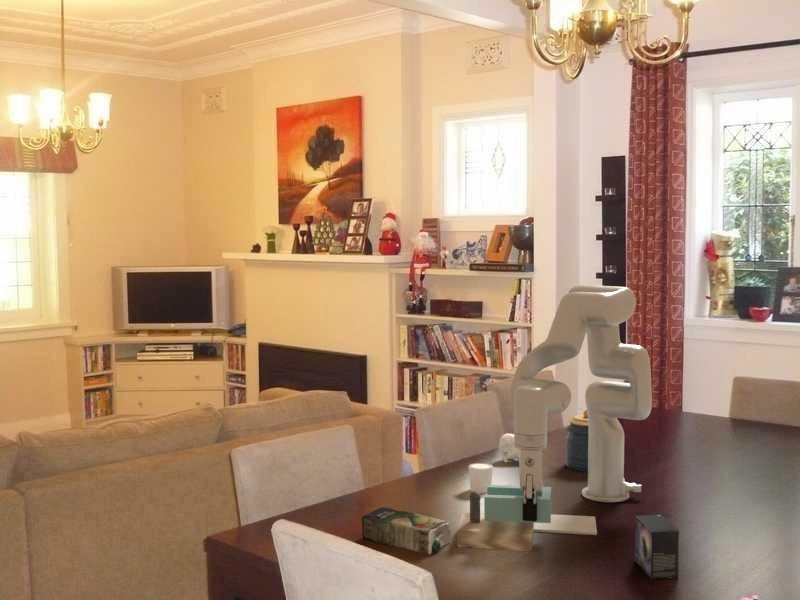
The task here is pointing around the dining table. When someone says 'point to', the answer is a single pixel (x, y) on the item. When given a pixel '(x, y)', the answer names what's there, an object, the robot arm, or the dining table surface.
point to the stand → (492, 531)
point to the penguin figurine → (508, 447)
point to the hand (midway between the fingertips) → (530, 518)
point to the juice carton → (406, 530)
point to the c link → (514, 504)
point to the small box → (656, 546)
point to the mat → (568, 525)
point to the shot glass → (480, 477)
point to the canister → (577, 443)
